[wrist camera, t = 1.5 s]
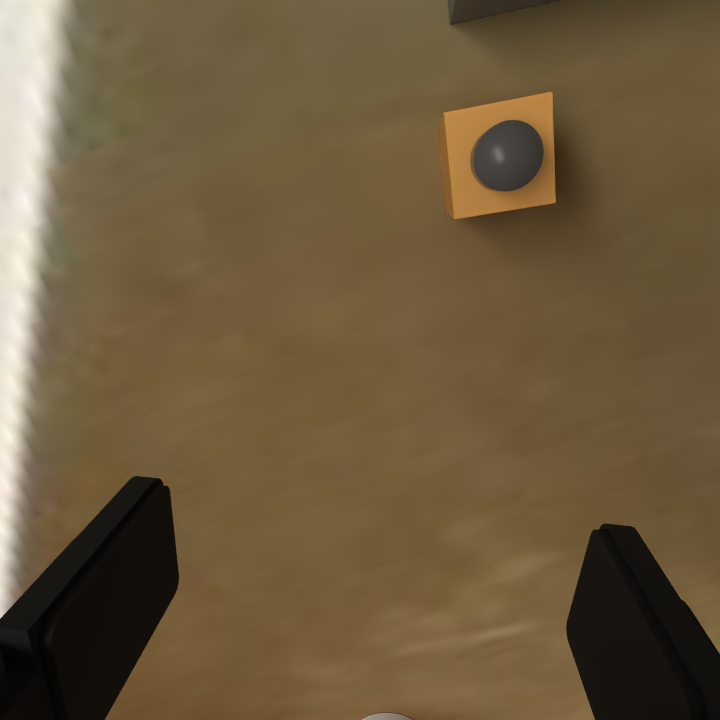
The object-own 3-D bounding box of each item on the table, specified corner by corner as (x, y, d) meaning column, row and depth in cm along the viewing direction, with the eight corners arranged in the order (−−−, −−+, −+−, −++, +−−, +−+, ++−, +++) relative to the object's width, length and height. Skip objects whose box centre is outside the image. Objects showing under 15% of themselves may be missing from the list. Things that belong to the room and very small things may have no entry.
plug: (518, 113, 26) (566, 82, 18) (522, 197, 28) (569, 205, 20) (436, 129, 27) (446, 106, 19) (445, 210, 29) (457, 222, 20)
